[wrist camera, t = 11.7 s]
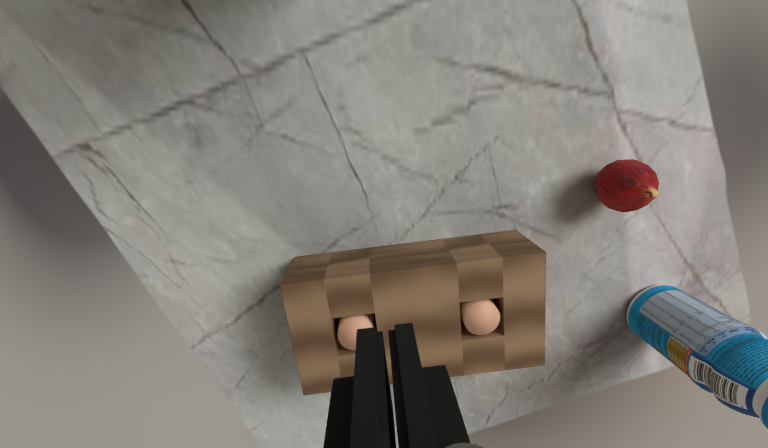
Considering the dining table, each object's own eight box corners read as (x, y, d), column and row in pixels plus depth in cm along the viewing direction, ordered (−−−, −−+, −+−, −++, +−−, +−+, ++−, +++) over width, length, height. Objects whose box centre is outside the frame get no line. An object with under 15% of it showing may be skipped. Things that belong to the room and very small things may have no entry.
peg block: (295, 256, 45) (279, 284, 37) (515, 230, 45) (546, 252, 37) (314, 351, 48) (303, 395, 41) (516, 326, 49) (544, 365, 41)
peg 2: (448, 276, 46) (463, 305, 38) (479, 272, 46) (499, 300, 38) (450, 304, 47) (465, 337, 40) (480, 300, 47) (500, 332, 40)
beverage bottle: (648, 272, 47) (839, 375, 28) (696, 296, 48) (911, 410, 29) (610, 323, 49) (766, 452, 30) (658, 344, 50) (836, 482, 31)
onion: (571, 184, 43) (614, 197, 36) (606, 146, 42) (658, 151, 35) (602, 212, 45) (650, 231, 37) (637, 176, 43) (694, 188, 36)
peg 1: (340, 289, 46) (334, 321, 38) (371, 285, 46) (371, 316, 38) (344, 317, 47) (340, 352, 39) (375, 313, 47) (376, 348, 39)
